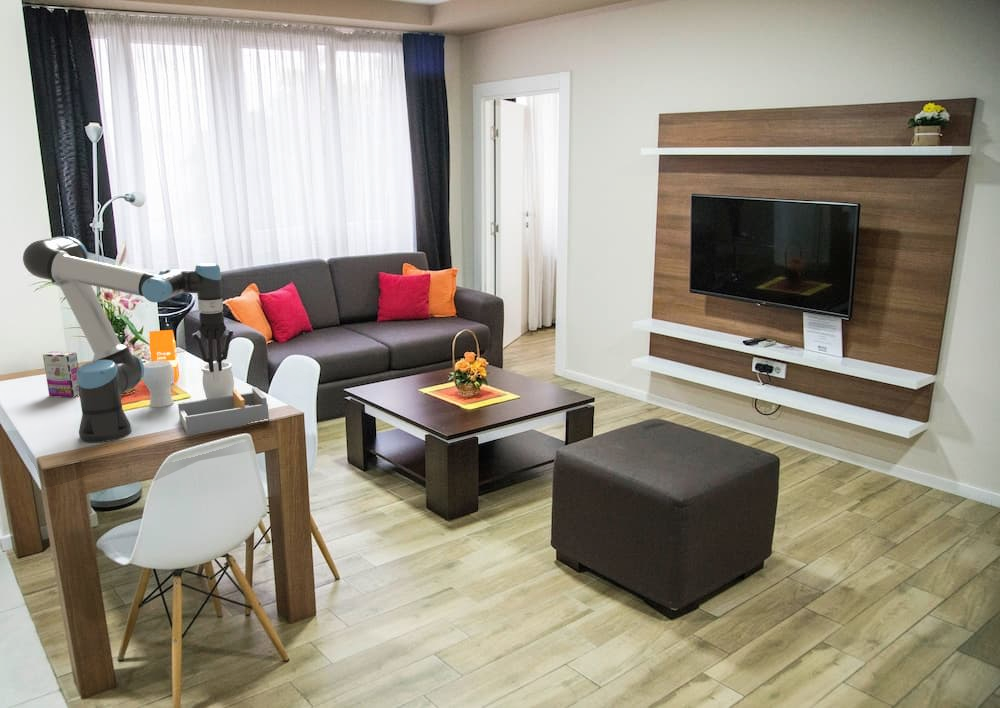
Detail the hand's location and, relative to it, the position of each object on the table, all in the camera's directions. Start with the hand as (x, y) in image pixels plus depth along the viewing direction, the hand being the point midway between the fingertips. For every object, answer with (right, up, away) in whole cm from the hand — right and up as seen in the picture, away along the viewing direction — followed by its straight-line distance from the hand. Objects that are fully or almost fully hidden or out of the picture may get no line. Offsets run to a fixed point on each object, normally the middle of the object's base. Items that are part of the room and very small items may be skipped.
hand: (216, 380), depth 271 cm
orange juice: (-39, -1, +54) cm, 67 cm away
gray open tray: (+1, -14, +4) cm, 14 cm away
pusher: (+7, -11, +7) cm, 15 cm away
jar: (-5, -10, +19) cm, 22 cm away
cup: (-28, -9, +23) cm, 37 cm away
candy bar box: (-69, -7, +35) cm, 78 cm away
